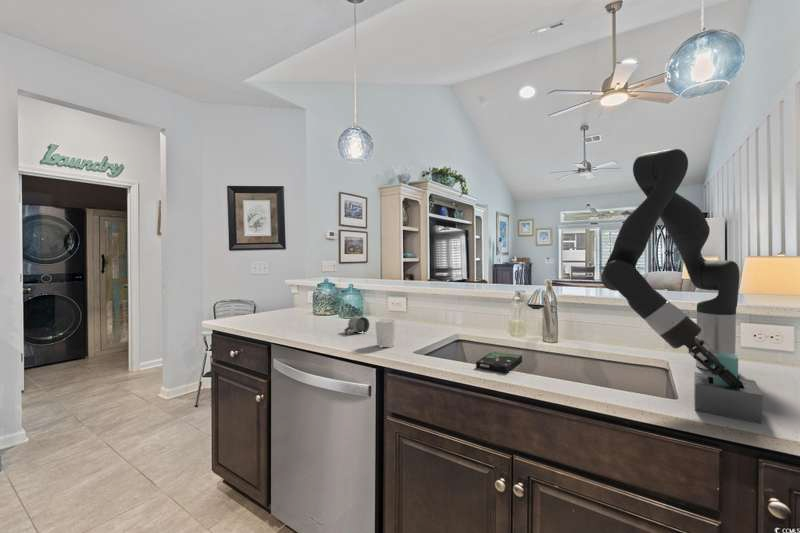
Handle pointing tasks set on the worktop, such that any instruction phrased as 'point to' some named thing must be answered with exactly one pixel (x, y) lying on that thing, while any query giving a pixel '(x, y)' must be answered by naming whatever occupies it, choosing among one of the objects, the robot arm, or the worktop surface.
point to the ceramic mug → (357, 325)
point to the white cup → (385, 332)
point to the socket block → (728, 398)
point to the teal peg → (729, 362)
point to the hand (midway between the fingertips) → (736, 382)
